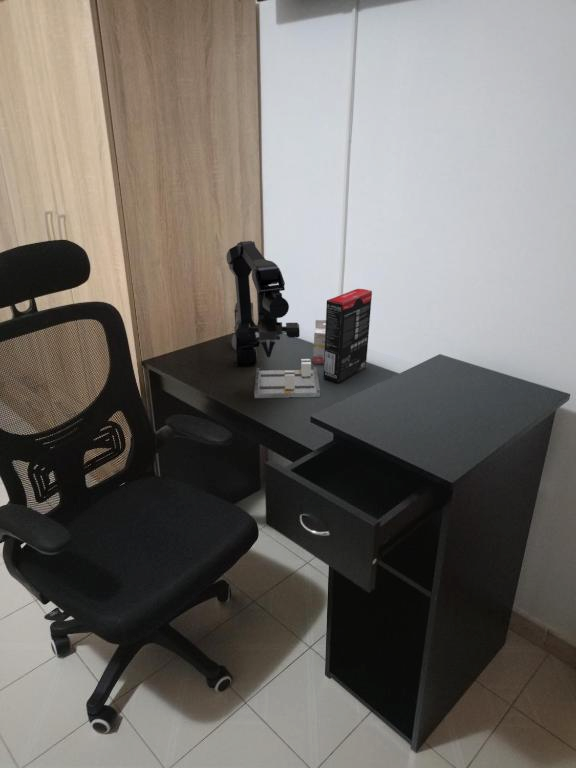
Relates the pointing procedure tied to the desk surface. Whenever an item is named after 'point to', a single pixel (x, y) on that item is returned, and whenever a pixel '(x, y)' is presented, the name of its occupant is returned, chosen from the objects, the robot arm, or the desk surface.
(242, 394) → the desk surface
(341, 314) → the graphics card box
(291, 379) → the fader
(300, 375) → the console
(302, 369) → the fader
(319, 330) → the ink cartridge box
